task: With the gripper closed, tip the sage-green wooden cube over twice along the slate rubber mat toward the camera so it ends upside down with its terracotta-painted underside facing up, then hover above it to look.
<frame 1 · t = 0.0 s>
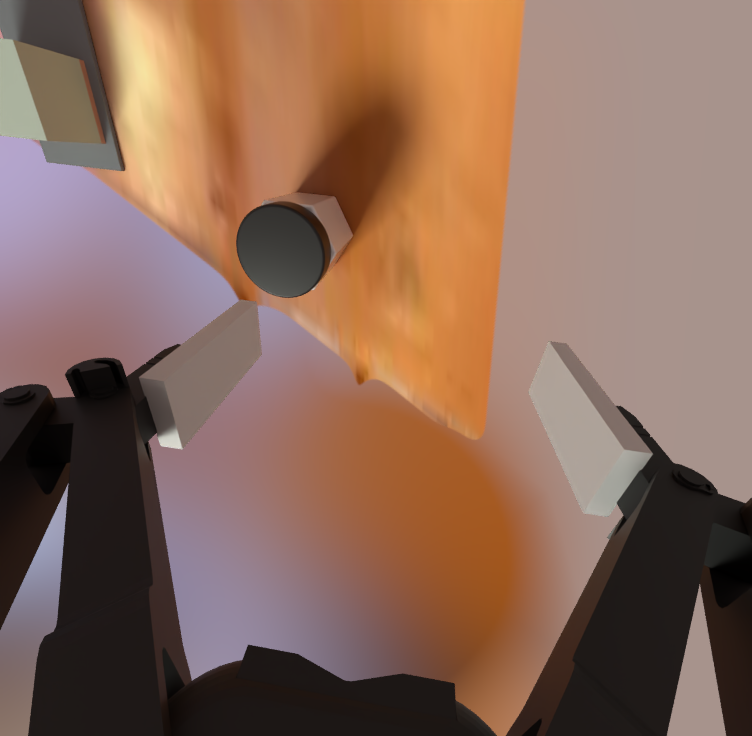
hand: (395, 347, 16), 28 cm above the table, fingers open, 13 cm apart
block: (64, 101, 36), resting on mat
jar: (316, 230, 41), on the table
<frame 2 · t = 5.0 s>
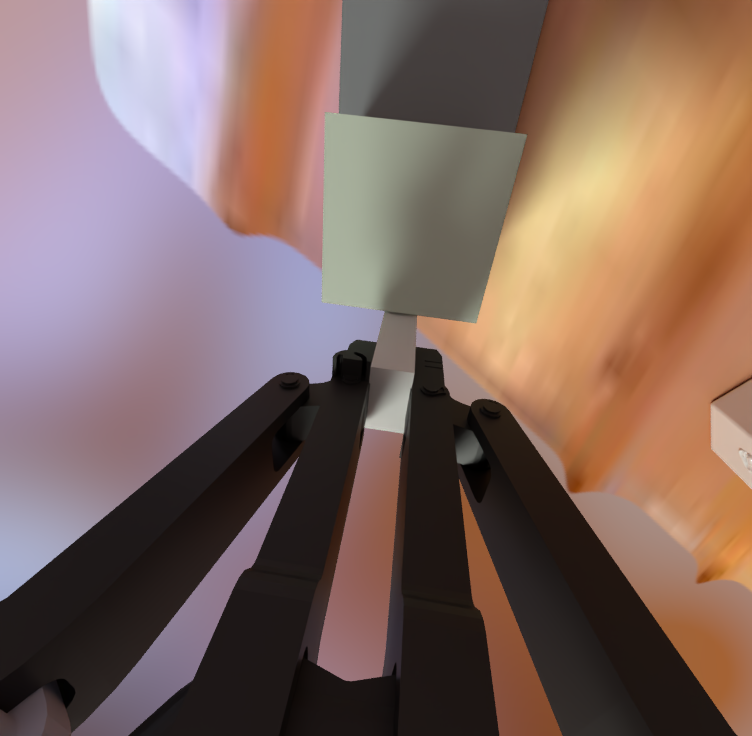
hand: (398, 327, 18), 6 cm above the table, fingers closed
block: (413, 209, 20), point 1 cm above the table, touching gripper, mat
mat: (440, 20, 16), on the table
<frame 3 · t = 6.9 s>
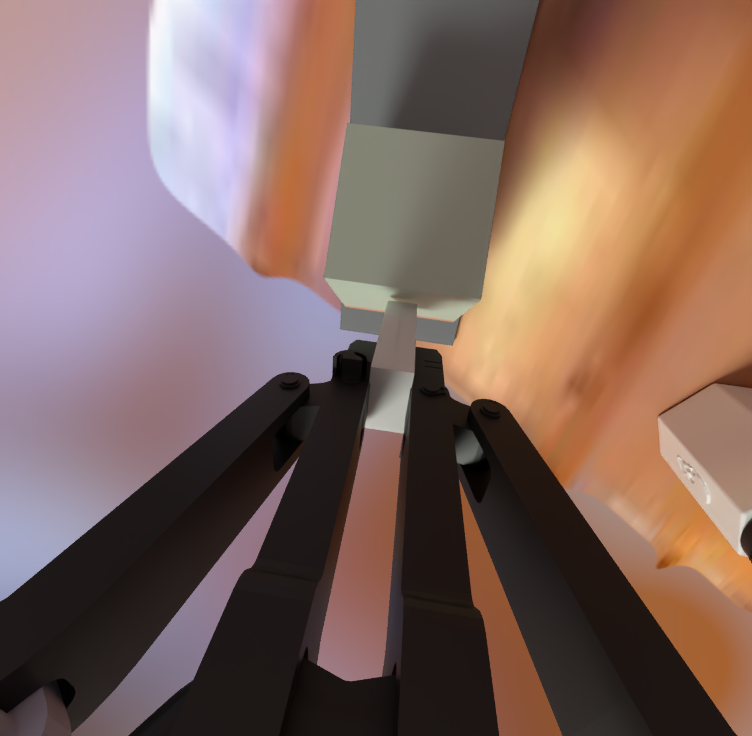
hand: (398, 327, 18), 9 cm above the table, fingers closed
block: (407, 260, 22), point 2 cm above the table, tilted 33°, touching gripper, mat
jar: (710, 422, 29), on the table
mat: (427, 122, 20), on the table
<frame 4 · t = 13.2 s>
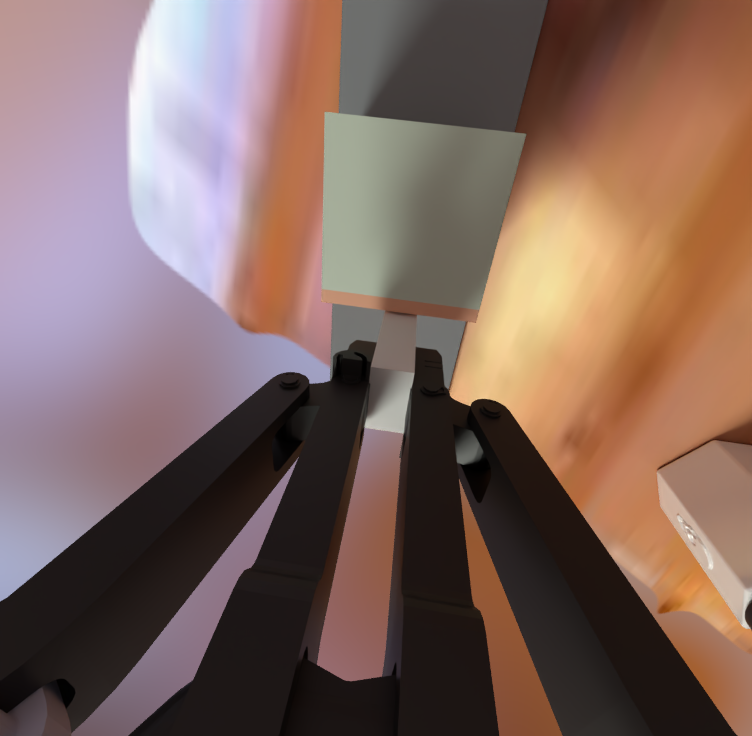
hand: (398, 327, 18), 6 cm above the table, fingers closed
block: (401, 288, 19), point 4 cm above the table, tilted 91°, touching gripper, mat
jar: (710, 476, 28), on the table
mat: (416, 190, 20), on the table
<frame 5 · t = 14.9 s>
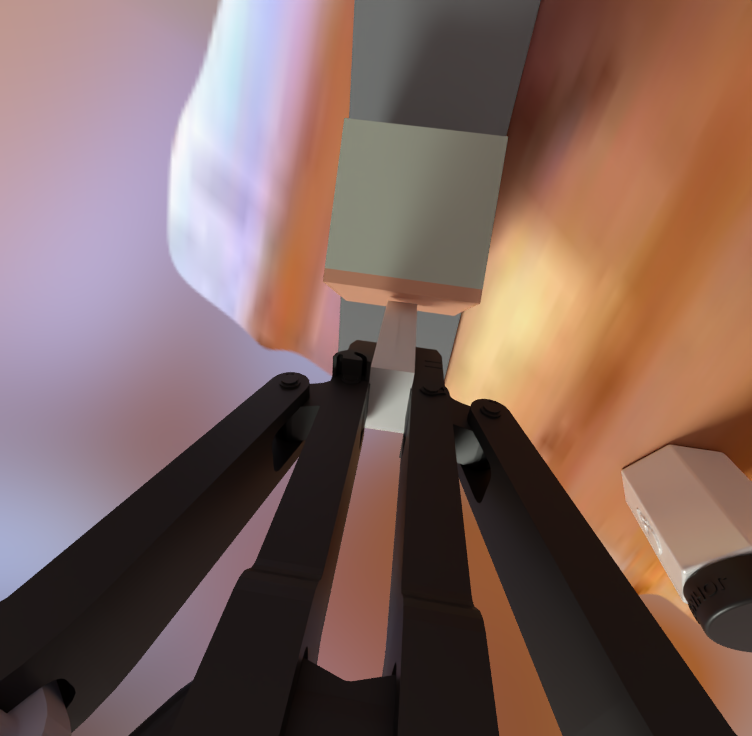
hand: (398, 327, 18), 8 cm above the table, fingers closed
block: (400, 301, 19), point 7 cm above the table, tilted 118°, touching gripper, mat
jar: (668, 475, 32), on the table
mat: (410, 236, 23), on the table
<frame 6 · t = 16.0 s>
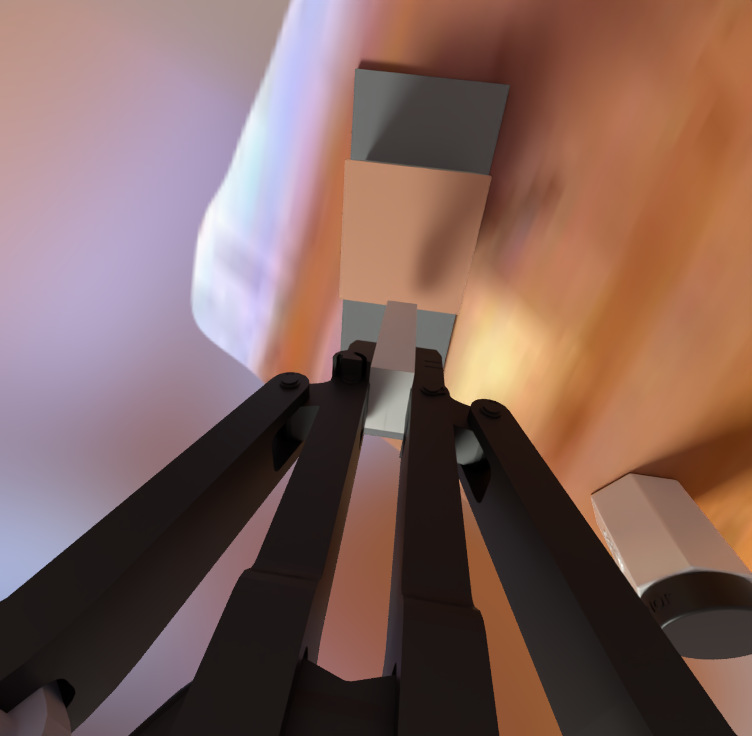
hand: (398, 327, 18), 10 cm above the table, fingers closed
block: (407, 244, 18), point 7 cm above the table, tilted 180°, touching mat
jar: (632, 499, 36), on the table
mat: (399, 302, 28), on the table
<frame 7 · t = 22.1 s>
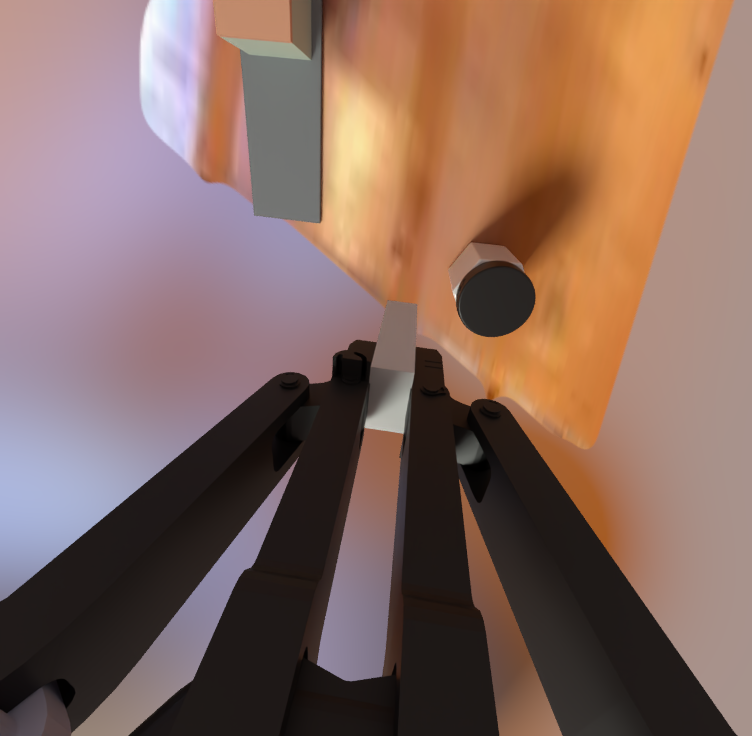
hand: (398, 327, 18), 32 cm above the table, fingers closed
jar: (480, 272, 48), on the table
mat: (283, 87, 39), on the table
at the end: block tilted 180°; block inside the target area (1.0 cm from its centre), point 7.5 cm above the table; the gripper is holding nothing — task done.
